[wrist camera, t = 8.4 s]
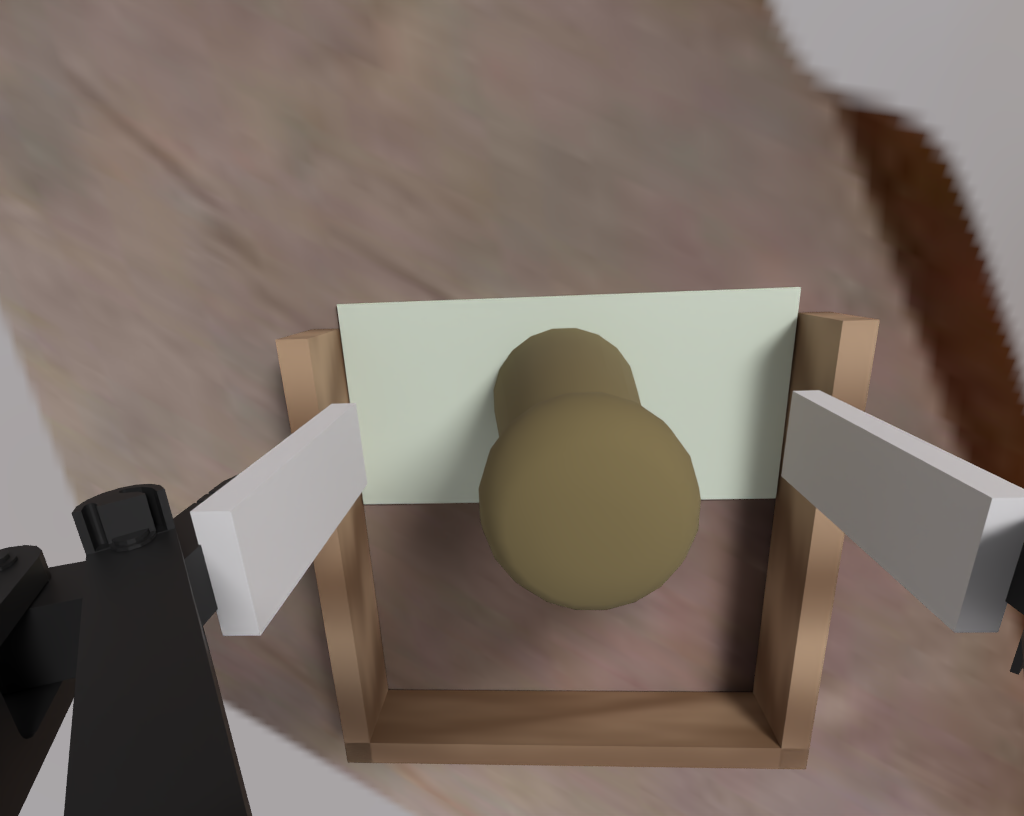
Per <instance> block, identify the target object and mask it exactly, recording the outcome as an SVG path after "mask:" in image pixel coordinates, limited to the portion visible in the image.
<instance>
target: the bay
mask: <svg viewBox="0 0 1024 816" xmlns="http://www.w3.org/2000/svg"><path fill="white" fill-rule="evenodd" d="M879 322H880V320H879V319H872V318H866V317H859V316H853V315H847V314H840V313H834V312H806V313H798V316H797V325H796V333H795V342H794V350H793V359H792V367H791V375H790V384H789V392H788V401H787V409H786V418H785V426H784V434H783V443H782V451H781V460H780V468H779V477H778V485H777V493H776V502H775V510H774V518H773V527H772V535H771V544H770V552H769V560H768V569H767V577H766V586H765V594H764V603H763V611H762V619H761V628H760V636H759V645H758V653H757V662H756V670H755V678H754V687H753V692H638V691H488V690H388V684H387V677H386V669H385V662H384V654H383V647H382V640H381V632H380V625H379V617H378V610H377V602H376V595H375V588H374V580H373V573H372V565H371V558H370V550H369V543H368V536H367V528H366V521H365V513H364V506H363V498H362V493H361V494H360V495H359V497H358V498H357V500H356V501H355V502H354V504H353V505H352V507H351V508H350V510H349V511H348V512H347V514H346V515H345V517H344V518H343V519H342V521H341V522H340V524H339V525H338V527H337V528H336V529H335V531H334V532H333V534H332V535H331V536H330V538H329V539H328V541H327V542H326V544H325V545H324V546H323V548H322V549H321V551H320V552H319V553H318V555H317V556H316V558H315V559H314V561H313V562H314V568H315V574H316V580H317V585H318V591H319V597H320V603H321V609H322V615H323V620H324V626H325V632H326V638H327V644H328V650H329V655H330V661H331V667H332V673H333V679H334V685H335V690H336V696H337V702H338V708H339V714H340V720H341V725H342V731H343V737H344V743H345V749H346V755H347V760H348V762H353V763H420V764H487V765H554V766H620V767H687V768H754V769H806V766H807V759H808V753H809V747H810V741H811V735H812V729H813V723H814V717H815V711H816V705H817V699H818V693H819V686H820V680H821V674H822V668H823V662H824V656H825V650H826V644H827V638H828V632H829V626H830V620H831V613H832V607H833V601H834V595H835V589H836V583H837V577H838V571H839V565H840V559H841V553H842V547H843V541H844V534H845V533H844V532H843V531H842V530H840V529H839V528H838V527H837V526H836V525H835V524H834V523H833V522H832V521H830V520H829V519H828V518H827V517H826V516H825V515H824V514H823V513H822V512H821V511H819V510H818V509H817V508H816V507H815V506H814V505H813V504H812V503H811V502H809V501H808V500H807V499H806V498H805V497H804V496H803V495H802V494H801V493H799V492H798V491H797V490H796V489H795V488H794V487H793V486H792V485H791V484H789V483H788V482H787V481H786V480H785V479H784V478H783V477H782V476H781V474H782V466H783V459H784V452H785V444H786V437H787V430H788V422H789V415H790V408H791V400H792V393H793V391H809V390H820V391H822V392H824V393H826V394H828V395H830V396H832V397H835V398H837V399H839V400H841V401H843V402H845V403H847V404H849V405H851V406H853V407H855V408H857V409H859V410H861V411H863V412H865V407H866V401H867V395H868V388H869V382H870V376H871V370H872V364H873V358H874V352H875V346H876V340H877V334H878V328H879ZM276 346H277V352H278V358H279V364H280V370H281V375H282V381H283V387H284V393H285V399H286V405H287V410H288V416H289V422H290V428H291V434H293V433H294V432H295V431H296V430H298V429H299V428H300V427H302V426H303V425H304V424H306V423H307V422H308V421H310V420H311V419H312V418H314V417H315V416H316V415H317V414H319V413H320V412H321V411H323V410H324V409H325V408H327V407H328V406H329V405H331V404H340V403H350V402H349V395H348V387H347V380H346V372H345V365H344V357H343V350H342V343H341V335H340V329H314V330H308V331H305V332H301V333H298V334H294V335H291V336H287V337H284V338H280V339H277V340H276Z"/></svg>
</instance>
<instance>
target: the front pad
mask: <svg viewBox="0 0 1024 816" xmlns="http://www.w3.org/2000/svg"><path fill="white" fill-rule="evenodd" d="M800 291H801V287H785V288H759V289H732V290H705V291H678V292H651V293H625V294H598V295H571V296H544V297H517V298H490V299H464V300H437V301H410V302H383V303H356V304H337V309H338V317H339V324H340V332H341V339H342V347H343V354H344V361H345V369H346V376H347V384H348V391H349V399H350V403H356V407H357V414H358V421H359V428H360V435H361V442H362V449H363V456H364V464H365V471H366V478H367V485H366V487H365V488H364V490H363V491H362V495H363V503H364V504H420V503H479V490H478V489H479V485H480V482H481V478H482V475H483V472H484V468H485V465H486V462H487V458H488V455H489V452H490V449H491V448H492V446H493V445H494V443H495V442H496V441H497V439H498V438H499V434H498V428H497V423H496V417H495V412H494V387H495V383H496V380H497V376H498V373H499V369H500V368H501V366H502V365H503V363H504V362H505V360H506V359H507V357H508V356H509V354H510V353H511V352H512V350H513V349H515V348H516V347H517V346H519V345H520V344H521V343H523V342H524V341H525V340H526V339H528V338H529V337H530V336H533V335H536V334H539V333H541V332H544V331H547V330H550V329H554V328H578V329H581V330H585V331H588V332H591V333H595V334H598V335H600V336H601V337H602V338H604V339H605V340H607V341H608V342H610V343H611V344H612V345H614V346H615V347H617V348H618V350H619V351H620V353H621V354H622V355H623V357H624V358H625V359H626V361H627V362H628V364H629V365H630V367H631V370H632V374H633V377H634V380H635V384H636V387H637V391H638V395H639V399H640V402H641V406H643V407H644V408H645V409H647V410H648V411H650V412H651V413H653V414H654V415H656V416H657V417H658V418H660V419H661V420H663V421H664V422H665V423H666V424H667V425H668V426H669V428H670V429H671V430H672V431H673V433H674V434H675V436H676V437H677V438H678V440H679V441H680V442H681V444H682V445H683V447H684V448H685V449H686V451H687V452H688V454H689V455H690V457H691V461H692V464H693V468H694V471H695V475H696V478H697V482H698V485H699V490H700V497H701V499H767V498H776V493H777V485H778V477H779V468H780V460H781V451H782V443H783V434H784V426H785V418H786V409H787V401H788V392H789V384H790V375H791V367H792V359H793V350H794V342H795V333H796V325H797V316H798V308H799V300H800Z"/></svg>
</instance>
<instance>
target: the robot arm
mask: <svg viewBox="0 0 1024 816" xmlns="http://www.w3.org/2000/svg"><path fill="white" fill-rule="evenodd" d="M781 476H782V477H783V478H784V479H785V480H786V481H787V482H788V483H789V484H791V485H792V486H793V487H794V488H795V489H796V490H797V491H798V492H799V493H801V494H802V495H803V496H804V497H805V498H806V499H807V500H808V501H809V502H811V503H812V504H813V505H814V506H815V507H816V508H817V509H818V510H819V511H821V512H822V513H823V514H824V515H825V516H826V517H827V518H828V519H829V520H830V521H832V522H833V523H834V524H835V525H836V526H837V527H838V528H839V529H840V530H842V531H843V532H844V533H845V534H846V535H847V536H848V537H849V538H850V539H852V540H853V541H854V542H855V543H856V544H857V545H858V546H859V547H860V548H862V549H863V550H864V551H865V552H866V553H867V554H868V555H869V556H870V557H871V558H873V559H874V560H875V561H876V562H877V563H878V564H879V565H880V566H881V567H883V568H884V569H885V570H886V571H887V572H888V573H889V574H890V575H891V576H893V577H894V578H895V579H896V580H897V581H898V582H899V583H900V584H901V585H903V586H904V587H905V588H906V589H907V590H908V591H909V592H910V593H911V594H912V595H914V596H915V597H916V598H917V599H918V600H919V601H920V602H921V603H922V604H924V605H925V606H926V607H927V608H928V609H929V610H930V611H931V612H932V613H934V614H935V615H936V616H937V617H938V618H939V619H940V620H941V621H942V622H944V623H945V624H946V625H947V626H948V627H949V628H950V629H951V630H952V631H953V632H998V631H999V628H1000V624H1001V621H1002V618H1003V615H1004V612H1005V609H1006V605H1007V603H1008V604H1010V605H1011V606H1013V607H1014V608H1015V609H1017V610H1018V611H1019V612H1021V613H1022V614H1023V615H1024V489H1023V488H1020V487H1018V486H1016V485H1014V484H1012V483H1010V482H1008V481H1006V480H1004V479H1002V478H1000V477H998V476H996V475H994V474H992V473H989V472H987V471H985V470H983V469H981V468H979V467H977V466H975V465H973V464H971V463H969V462H967V461H965V460H963V459H961V458H958V457H956V456H954V455H952V454H950V453H948V452H946V451H944V450H942V449H940V448H938V447H936V446H934V445H932V444H930V443H927V442H925V441H923V440H921V439H919V438H917V437H915V436H913V435H911V434H909V433H907V432H905V431H903V430H901V429H899V428H896V427H894V426H892V425H890V424H888V423H886V422H884V421H882V420H880V419H878V418H876V417H874V416H872V415H870V414H868V413H865V412H863V411H861V410H859V409H857V408H855V407H853V406H851V405H849V404H847V403H845V402H843V401H841V400H839V399H837V398H835V397H832V396H830V395H828V394H826V393H824V392H822V391H820V390H809V391H793V393H792V400H791V408H790V415H789V422H788V430H787V437H786V444H785V452H784V459H783V466H782V474H781ZM366 485H367V478H366V471H365V464H364V456H363V449H362V442H361V435H360V428H359V421H358V414H357V407H356V403H340V404H331V405H329V406H328V407H327V408H325V409H324V410H323V411H321V412H320V413H319V414H317V415H316V416H315V417H314V418H312V419H311V420H310V421H308V422H307V423H306V424H304V425H303V426H302V427H300V428H299V429H298V430H296V431H295V432H294V433H293V434H291V435H290V436H289V437H287V438H286V439H285V440H283V441H282V442H281V443H279V444H278V445H277V446H276V447H274V448H273V449H272V450H270V451H269V452H268V453H266V454H265V455H264V456H262V457H261V458H260V459H258V460H257V461H256V462H255V463H253V464H252V465H251V466H249V467H248V468H247V469H245V470H244V471H243V472H241V473H240V474H238V475H236V476H234V477H232V478H230V479H227V480H225V481H223V482H222V483H220V484H219V485H218V486H216V487H215V488H214V489H212V490H211V491H210V492H209V494H206V495H204V496H203V497H202V498H200V499H199V500H198V501H197V503H194V504H192V505H191V506H190V507H188V508H187V509H186V510H184V511H183V512H182V513H180V514H179V515H177V516H176V517H175V518H173V517H172V514H171V510H170V507H169V503H168V499H167V496H166V492H165V489H164V488H163V487H162V486H161V485H155V484H141V485H133V486H128V487H122V488H118V489H115V490H112V491H108V492H105V493H102V494H100V495H97V496H95V497H93V498H90V499H88V500H86V501H85V502H83V503H81V504H80V505H78V506H77V507H76V508H75V509H74V511H73V512H72V516H73V518H74V521H75V524H76V527H77V530H78V533H79V536H80V539H81V541H82V544H83V547H84V550H85V553H86V561H83V562H77V563H72V564H67V565H61V566H55V567H50V568H48V566H47V563H46V561H45V558H44V555H43V553H42V550H41V549H40V548H38V547H37V546H29V545H23V546H16V547H8V548H4V549H1V550H0V816H18V815H19V813H20V810H21V808H22V806H23V804H24V802H25V800H26V798H27V796H28V794H29V792H30V789H31V787H32V785H33V783H34V781H35V779H36V777H37V775H38V772H39V770H40V768H41V766H42V764H43V762H44V759H45V758H46V755H47V753H48V751H49V749H50V747H51V745H52V743H53V741H54V739H55V736H56V734H57V732H58V730H59V728H60V726H61V724H62V721H63V719H64V717H65V715H66V713H67V711H68V709H69V707H70V705H71V702H72V700H73V698H74V704H73V716H72V728H71V739H70V751H69V763H68V774H67V786H66V797H65V810H64V816H252V813H251V809H250V805H249V801H248V798H247V794H246V790H245V786H244V782H243V778H242V775H241V770H240V767H239V763H238V759H237V755H236V752H235V747H234V743H233V740H232V736H231V732H230V728H229V724H228V720H227V716H226V713H225V708H224V705H223V701H222V697H221V693H220V689H219V685H218V681H217V678H216V674H215V670H214V666H213V662H212V658H211V654H210V650H209V647H208V643H207V639H206V635H205V632H204V628H203V625H204V624H205V623H206V622H207V621H208V619H209V618H210V617H211V616H212V615H213V614H214V613H215V611H216V612H217V615H218V619H219V623H220V627H221V630H222V634H223V636H261V634H262V633H263V631H264V630H265V629H266V627H267V626H268V624H269V623H270V622H271V620H272V619H273V617H274V616H275V614H276V613H277V612H278V610H279V609H280V607H281V606H282V605H283V603H284V602H285V600H286V599H287V597H288V596H289V595H290V593H291V592H292V590H293V589H294V587H295V586H296V585H297V583H298V582H299V580H300V579H301V578H302V576H303V575H304V573H305V572H306V570H307V569H308V568H309V566H310V565H311V563H312V562H313V561H314V559H315V558H316V556H317V555H318V553H319V552H320V551H321V549H322V548H323V546H324V545H325V544H326V542H327V541H328V539H329V538H330V536H331V535H332V534H333V532H334V531H335V529H336V528H337V527H338V525H339V524H340V522H341V521H342V519H343V518H344V517H345V515H346V514H347V512H348V511H349V510H350V508H351V507H352V505H353V504H354V502H355V501H356V500H357V498H358V497H359V495H360V494H361V493H362V491H363V490H364V488H365V487H366ZM1022 668H1024V630H1023V633H1022V636H1021V639H1020V642H1019V645H1018V648H1017V651H1016V654H1015V657H1014V660H1013V663H1012V666H1011V669H1010V672H1013V673H1015V674H1018V675H1019V673H1020V671H1021V670H1022Z"/></svg>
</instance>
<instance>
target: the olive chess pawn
mask: <svg viewBox="0 0 1024 816" xmlns="http://www.w3.org/2000/svg"><path fill="white" fill-rule="evenodd" d="M494 412H495V417H496V423H497V428H498V434H499V438H498V439H497V441H496V442H495V443H494V445H493V446H492V448H491V449H490V452H489V455H488V458H487V462H486V465H485V468H484V472H483V475H482V478H481V482H480V485H479V489H478V490H479V509H480V521H481V525H482V528H483V531H484V534H485V536H486V539H487V541H488V543H489V546H490V548H491V551H492V553H493V555H494V558H495V559H496V560H497V562H498V563H499V564H500V565H501V566H502V567H503V568H504V570H505V571H506V572H507V573H508V574H509V575H510V576H511V578H512V579H513V580H514V581H515V582H516V583H518V584H519V585H521V586H522V587H524V588H525V589H527V590H529V591H530V592H532V593H533V594H535V595H537V596H538V597H540V598H542V599H543V600H545V601H546V602H549V603H553V604H556V605H560V606H564V607H567V608H571V609H574V610H607V609H611V608H615V607H619V606H622V605H626V604H630V603H634V602H636V601H638V600H639V599H641V598H643V597H644V596H646V595H648V594H650V593H651V592H653V591H655V590H656V589H658V588H660V587H661V586H662V585H663V584H664V583H665V582H666V581H667V579H668V578H669V577H670V576H671V575H672V574H673V573H674V572H675V571H676V570H677V569H678V567H679V566H680V565H681V564H682V562H683V561H684V559H685V558H686V556H687V553H688V551H689V549H690V547H691V544H692V542H693V540H694V538H695V536H696V533H697V531H698V526H699V514H700V502H701V497H700V490H699V485H698V482H697V478H696V475H695V471H694V468H693V464H692V461H691V457H690V455H689V454H688V452H687V451H686V449H685V448H684V447H683V445H682V444H681V442H680V441H679V440H678V438H677V437H676V436H675V434H674V433H673V431H672V430H671V429H670V428H669V426H668V425H667V424H666V423H665V422H664V421H663V420H661V419H660V418H658V417H657V416H656V415H654V414H653V413H651V412H650V411H648V410H647V409H645V408H644V407H643V406H641V402H640V399H639V395H638V391H637V387H636V384H635V380H634V377H633V374H632V370H631V367H630V365H629V364H628V362H627V361H626V359H625V358H624V357H623V355H622V354H621V353H620V351H619V350H618V348H617V347H615V346H614V345H612V344H611V343H610V342H608V341H607V340H605V339H604V338H602V337H601V336H600V335H598V334H595V333H591V332H588V331H585V330H581V329H578V328H554V329H550V330H547V331H544V332H541V333H539V334H536V335H533V336H530V337H529V338H528V339H526V340H525V341H524V342H523V343H521V344H520V345H519V346H517V347H516V348H515V349H513V350H512V352H511V353H510V354H509V356H508V357H507V359H506V360H505V362H504V363H503V365H502V366H501V368H500V369H499V373H498V376H497V380H496V383H495V387H494Z"/></svg>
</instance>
